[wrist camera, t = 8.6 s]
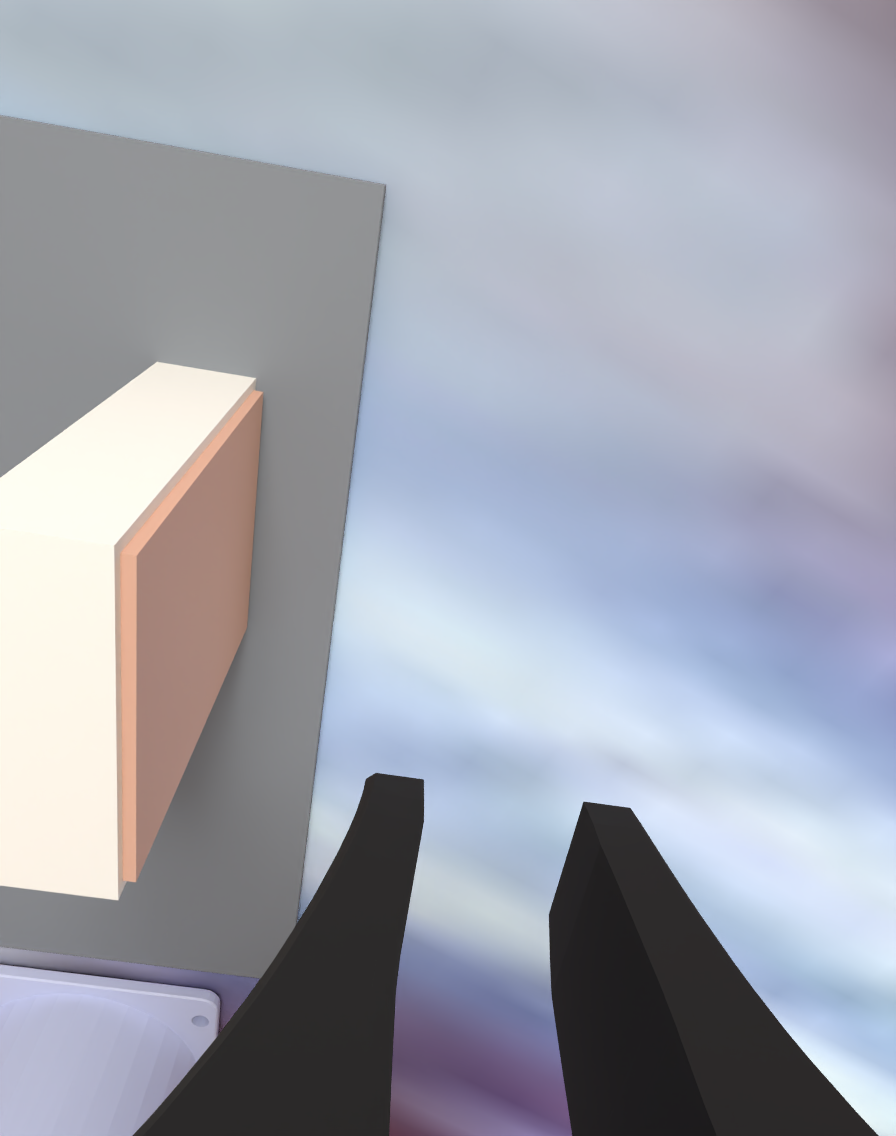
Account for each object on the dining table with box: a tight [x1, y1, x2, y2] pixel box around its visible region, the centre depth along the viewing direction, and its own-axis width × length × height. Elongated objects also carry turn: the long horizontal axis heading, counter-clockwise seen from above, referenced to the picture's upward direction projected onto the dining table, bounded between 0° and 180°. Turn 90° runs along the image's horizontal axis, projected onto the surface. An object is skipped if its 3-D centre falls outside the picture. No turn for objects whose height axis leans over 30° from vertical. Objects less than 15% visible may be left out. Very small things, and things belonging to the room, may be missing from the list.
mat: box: [0, 115, 386, 978], centre depth 20 cm, size 22×14×1 cm, turn 171°
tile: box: [0, 362, 263, 900], centre depth 15 cm, size 6×2×8 cm, turn 171°
